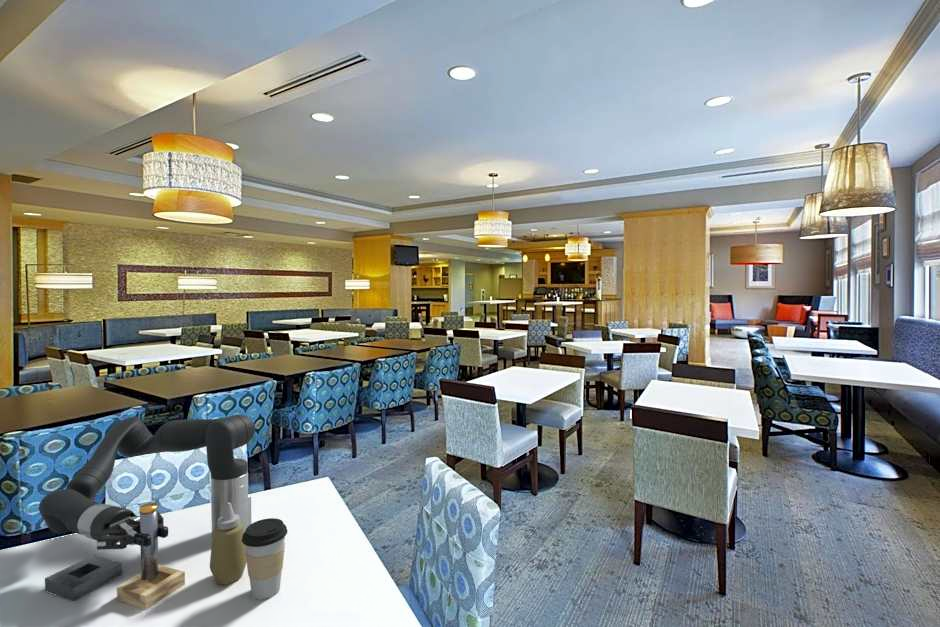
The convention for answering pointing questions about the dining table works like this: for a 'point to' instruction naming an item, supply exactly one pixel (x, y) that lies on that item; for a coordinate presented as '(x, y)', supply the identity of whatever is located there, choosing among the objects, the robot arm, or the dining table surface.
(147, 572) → the steel rod
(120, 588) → the oak tray
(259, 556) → the coffee cup
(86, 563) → the socket block
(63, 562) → the dining table surface
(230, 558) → the squeeze bottle
